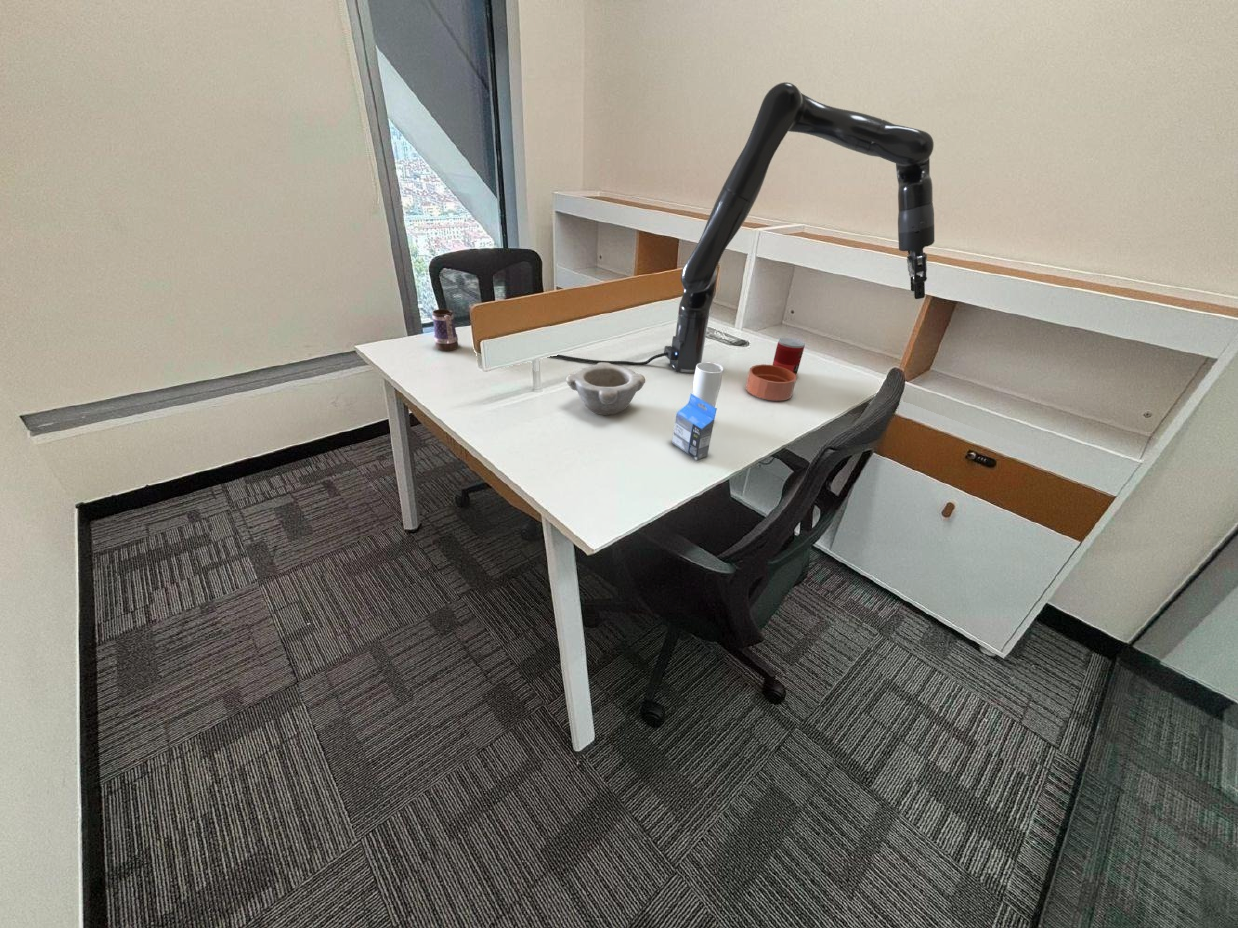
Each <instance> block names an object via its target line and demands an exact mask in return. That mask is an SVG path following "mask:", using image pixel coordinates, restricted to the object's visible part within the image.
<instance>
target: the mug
mask: <svg viewBox="0 0 1238 928" xmlns="http://www.w3.org/2000/svg"><path fill="white" fill-rule="evenodd" d="M431 315H432V322H433V332H434V336H433V337H434V342H435V348H436V350H438V351H441V352H450V351H455V350H457V349H458V348H459V342H458V341H459V339H458V338H459V337H458V334H457V330H456V324H455V317H454V313H453V310H452V309H450V308H449V309H447V308H439V309H435V310H433V311H432V314H431Z"/></svg>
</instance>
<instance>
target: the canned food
mask: <svg viewBox="0 0 1238 928" xmlns="http://www.w3.org/2000/svg"><path fill="white" fill-rule="evenodd" d="M805 347H806V343H805V342H804V341H803V340H801V339H797V338H795V337H794V338H793V337H780V338H779V339H778V341H777V344H776V348H775V353H774V357H773V360H772V365H775V366H780V367H783V368H786V369H788V370H790V371H792V372H793V373H795V374H796V376H798V375H797V374H798V372H799V368H800V365H801V361H802V357H803V353H804V350H805Z"/></svg>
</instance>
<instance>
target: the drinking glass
mask: <svg viewBox="0 0 1238 928" xmlns="http://www.w3.org/2000/svg"><path fill="white" fill-rule="evenodd" d="M723 376H724V367H723V366H722V365H721V364H718V363H714V362H710V361H702V363H699V364H697V365H696V370H695V373H694V375H693V383H692V394H693V395H694V396H696V397H698V398H700V399H701V400H703V401H705V402H706V403H708V404H710V405H711V406H713V407H715V408H716V405H717V404H716V403H717V400H718V398H719V397H718V396H719V393H720V390H721V387H722V381H723ZM698 406H700V407H701V408H703V409H705V410H707V409H706V407H704V406H703V404H701V405H700V404H698Z"/></svg>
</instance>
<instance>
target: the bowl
mask: <svg viewBox="0 0 1238 928" xmlns="http://www.w3.org/2000/svg"><path fill="white" fill-rule="evenodd" d="M797 379H798V375H796V374H795V373H793V372H792V371H790V370H788V369H786V368H783V367H780V366H775V365H773V364H762V363H761V364H756V365H752V366H751V367H749V371H748V375H747V379H746V383H745V389H746V391H747V392H748V393H749V394H751V395H752V396H755V397H757V398H759V399H762V400H767V401H773V402H774V401H775V402H776V401H777V402H778V401H779V402H780V401H786V400H789V399H791V398H792V396H793V394H794V390H795V387H796V383H797Z"/></svg>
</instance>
